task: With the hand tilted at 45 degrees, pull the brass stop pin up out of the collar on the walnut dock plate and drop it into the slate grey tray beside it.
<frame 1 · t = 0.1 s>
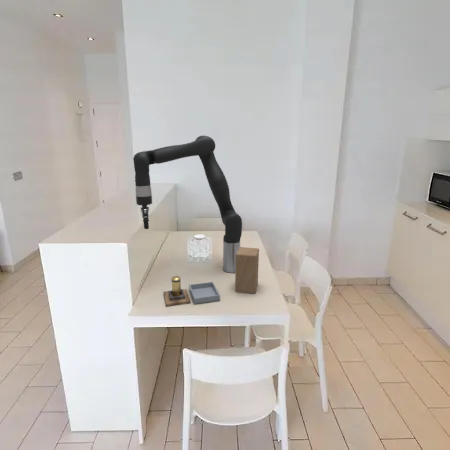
hand: (146, 226, 168), 29 cm above the table, tool pointing down, fingers open, 8 cm apart
stop pin: (176, 296, 157), point 1 cm above the table, touching pin dock
wooden block: (246, 288, 167), on the table
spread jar: (199, 252, 213), on the table
tray: (204, 295, 160), on the table
pin dock: (176, 298, 157), on the table
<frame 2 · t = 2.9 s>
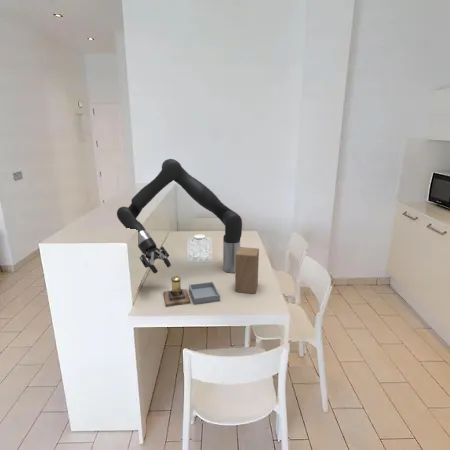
hand: (163, 269, 158), 13 cm above the table, tool tilted 45°, fingers open, 8 cm apart
nothing on the table moved.
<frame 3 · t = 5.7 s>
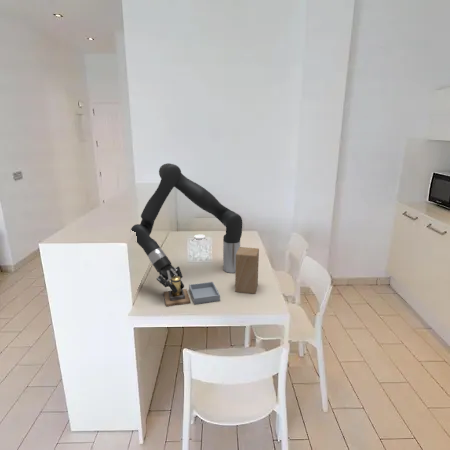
hand: (179, 289, 155), 5 cm above the table, tool tilted 45°, fingers closed on stop pin, 4 cm apart
stop pin: (176, 296, 157), point 1 cm above the table, touching gripper, pin dock
everything else where it was.
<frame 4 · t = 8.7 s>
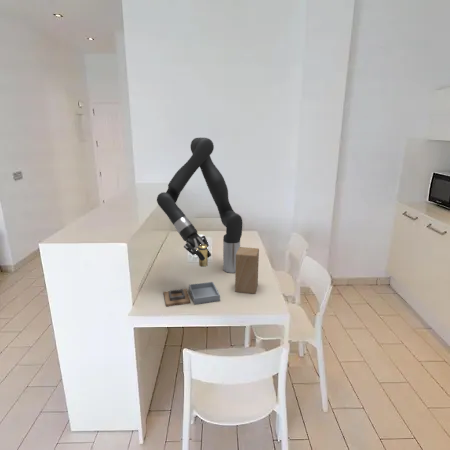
hand: (206, 258, 153), 20 cm above the table, tool tilted 45°, fingers closed on stop pin, 4 cm apart
stop pin: (203, 264, 156), point 16 cm above the table, touching gripper
everything else where it was.
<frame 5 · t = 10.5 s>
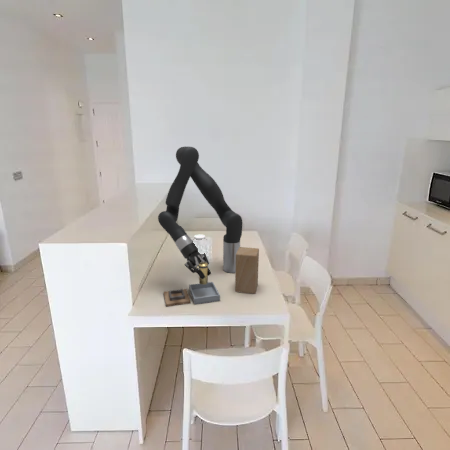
hand: (206, 276, 156), 11 cm above the table, tool tilted 45°, fingers closed on stop pin, 4 cm apart
stop pin: (203, 282, 158), point 7 cm above the table, touching gripper
everything else where it was.
when the fingers open (6 cm above the table, at t = 11.8 s): stop pin drops 2 cm, resting on tray.
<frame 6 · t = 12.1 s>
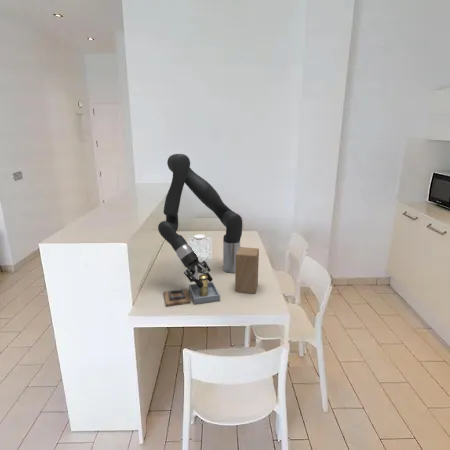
hand: (206, 284, 157), 7 cm above the table, tool tilted 45°, fingers open, 6 cm apart
stop pin: (203, 294, 160), point 1 cm above the table, touching tray
everything else where it was.
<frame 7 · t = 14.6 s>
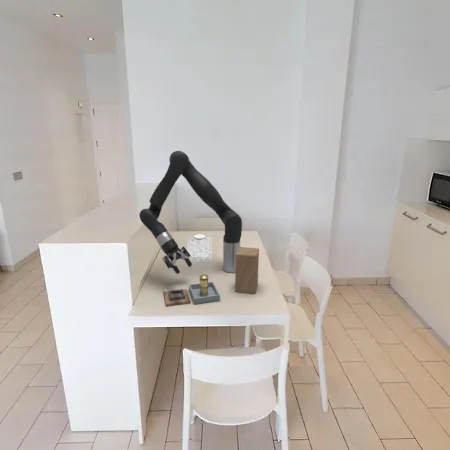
hand: (184, 269, 164), 10 cm above the table, tool tilted 45°, fingers open, 8 cm apart
nothing on the table moved.
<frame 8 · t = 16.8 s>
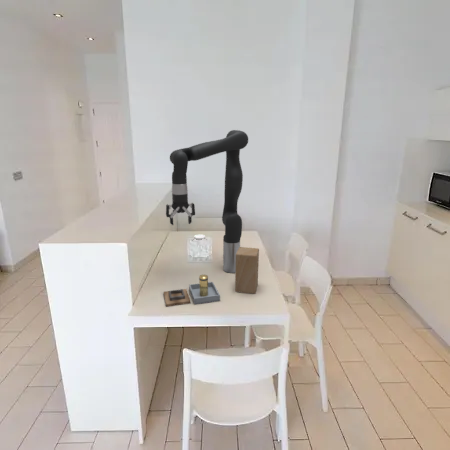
hand: (181, 224, 168), 30 cm above the table, tool pointing down, fingers open, 8 cm apart
nothing on the table moved.
at the end: stop pin inside the target area on the tray (0.1 cm from its centre), point 0.6 cm above the tray's base; stop pin touching tray; the gripper is holding nothing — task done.
